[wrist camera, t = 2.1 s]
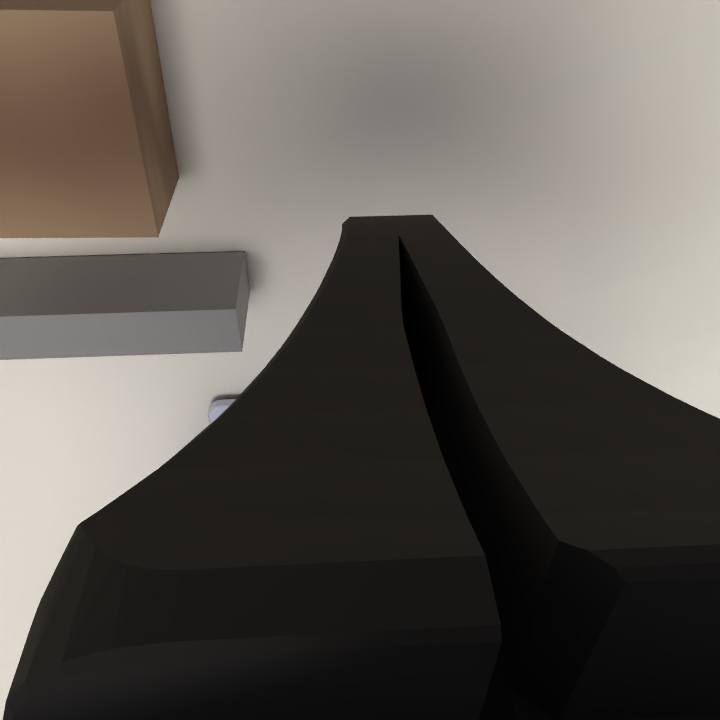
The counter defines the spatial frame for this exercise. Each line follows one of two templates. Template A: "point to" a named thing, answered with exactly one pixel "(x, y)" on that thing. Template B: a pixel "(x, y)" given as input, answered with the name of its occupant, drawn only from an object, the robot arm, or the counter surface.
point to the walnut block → (82, 121)
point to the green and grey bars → (122, 305)
